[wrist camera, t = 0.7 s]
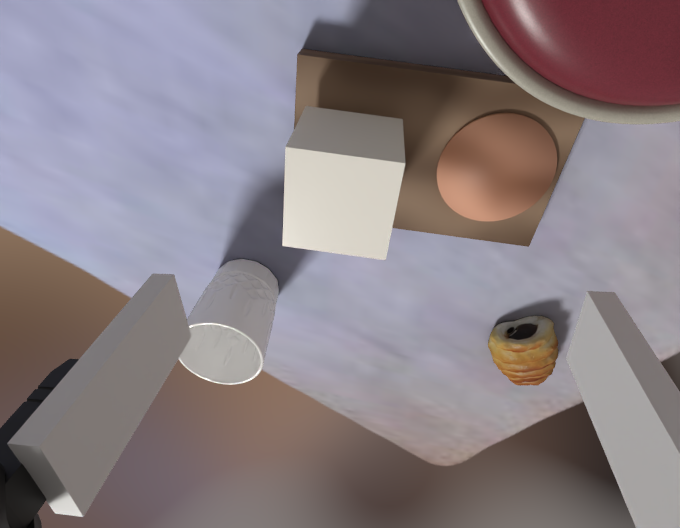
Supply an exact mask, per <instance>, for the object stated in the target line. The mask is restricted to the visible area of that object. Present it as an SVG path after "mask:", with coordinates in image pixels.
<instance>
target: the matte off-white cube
mask: <svg viewBox="0 0 680 528" xmlns="http://www.w3.org/2000/svg"><path fill="white" fill-rule="evenodd" d="M404 168H405V148H404V131H403V119H399V118H392V117H384V116H377V115H369V114H362V113H355V112H347V111H340V110H333V109H325V108H318V107H310V106H306V107H305V109H304V111H303V113H302V115H301V117H300V119H299V121H298V123H297V125H296V127H295V129H294V131H293V133H292V135H291V137H290V139H289V141H288V143H287V145H286V151H285V181H284V212H283V242H282V246H287V247H294V248H301V249H308V250H315V251H323V252H330V253H337V254H344V255H351V256H359V257H366V258H373V259H380V260H386V256H387V251H388V246H389V241H390V236H391V231H392V226H393V222H394V217H395V212H396V207H397V202H398V197H399V192H400V187H401V183H402V178H403V173H404Z"/></svg>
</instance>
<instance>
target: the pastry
mask: <svg viewBox="0 0 680 528" xmlns="http://www.w3.org/2000/svg"><path fill="white" fill-rule="evenodd" d="M553 326H554V323H553V322H552V321H551V320H550V319H548V318H545V317H544V316H528V317H525V318H521V319H519V320H516V321H513V322H504V323H500V324H498V325H497V326H496V327H495V328H494V329H493V330H492V332H491V334H490V338H489V342H488V347H489V349H490V351H491V354H492V357H493V361H494V363H495V364H496V365H497V367H498V369H499V370H501V371H502V373H503V374H504V375H506V376H507V377H508V378H509V380H510V381H512V382H513V383H514V384H516V385H539V384H540V383H542V382H544V381H545V380H546V379H547V377H548V376H549V375H551V374H552V372H553V368H554V367H555V364H556V363H555V360H556V359H557V357H558V348H557V346H558V340H557V337H556V335H555V332H554V328H553Z"/></svg>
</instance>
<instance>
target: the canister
mask: <svg viewBox="0 0 680 528" xmlns="http://www.w3.org/2000/svg"><path fill="white" fill-rule="evenodd" d="M457 1H458V4H459V6H460V8H461V11H462V13H463V15H464V17H465V19H466V21H467V23H468V25H469V27H470V29H471V30H472V32H473V34H474V36H475V37H476V39H477V40H478V42H479V43H480V45H481V46H482V48H483V49H484V50H485V52H486V53H487V54H488V56H489V57H490V58H491V59H492V60H493V62H494V63H495V64H496V65H497V66H498V67H499V68H500V69H501V70H502V71H503V72H504V73H505V74H506V75H507V76H508V77H509V78H510V79H511V80H512V81H513V82H515V83H516V84H517V85H518V86H520V87H521V88H522V89H524V90H525V91H526V92H528V93H529V94H531V95H532V96H534V97H536V98H537V99H539V100H541V101H543V102H544V103H546V104H548V105H550V106H552V107H555V108H557V109H559V110H562V111H564V112H567V113H570V114H573V115H576V116H579V117H583V118H587V119H591V120H596V121H602V122H609V123H619V124H658V123H668V122H676V121H680V0H457Z"/></svg>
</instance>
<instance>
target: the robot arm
mask: <svg viewBox="0 0 680 528" xmlns="http://www.w3.org/2000/svg"><path fill="white" fill-rule="evenodd" d="M191 337H192V336H191V333H190V329H189V325H188V322H187V318H186V315H185V311H184V308H183V304H182V301H181V297H180V294H179V290H178V287H177V283H176V280H175V276H174V274H152V275H151V276H150V277H149V279H148V280H147V281H146V282H145V283H144V284H143V286H142V287H141V288H140V289H139V290H138V291H137V293H136V294H135V295H134V296H133V297H132V298H131V300H130V301H129V302H128V303H127V305H125V307H124V308H123V309H122V310H121V311H120V313H119V314H118V315H117V316H116V317H115V318H114V320H113V321H112V322H111V323H110V324H109V325H108V327H107V328H106V329H105V330H104V331H103V332H102V333H101V335H100V336H99V337H98V338H97V339H96V340H95V342H94V343H93V344H92V345H91V346H90V347H89V349H88V350H87V351H86V352H85V353H84V354H83V356H82V357H81V358H80V359H79V360H78V359H69V360H67V361H66V362H65V363H63V364H62V365H60V366H59V367H57V368H56V369H54V370H53V371H52V372H51V373H50V374H49V375H48V376H47V377H46V378H45V379H44V380H43V382H42V383H41V384H40V385H39V386H38V389H35V390H34V391H33V393H32V394H31V395H30V396H29V397H28V398H27V402H24V403H23V404H22V405H21V406H20V407H19V408H18V409H17V411H15V413H14V414H13V415H12V416H11V417H10V418H9V419H8V420H7V422H6V423H5V424H4V425H3V426H2V427H1V428H0V528H42V526H41V520H40V518H39V515H38V514H37V512H38V511H39V509H40V508H41V507H42V505H43V504H44V502H45V501H47V502H48V504H49V505H50V507H51V508H52V510H53V511H54V512H55V514H64V515H74V516H81V517H84V515H85V513H86V512H87V510H88V508H89V507H90V505H91V503H92V502H93V500H94V498H95V497H96V495H97V493H98V492H99V490H100V488H101V487H102V485H103V483H104V482H105V480H106V478H107V477H108V475H109V473H110V472H111V470H112V468H113V467H114V465H115V463H116V462H117V460H118V458H119V457H120V455H121V453H122V452H123V450H124V448H125V447H126V445H127V443H128V442H129V440H130V438H131V437H132V435H133V433H134V432H135V430H136V428H137V427H138V425H139V423H140V422H141V420H142V418H143V417H144V415H145V413H146V412H147V410H148V408H149V407H150V405H151V403H152V402H153V400H154V398H155V397H156V395H157V393H158V392H159V390H160V388H161V387H162V385H163V383H164V382H165V380H166V378H167V377H168V375H169V373H170V372H171V370H172V368H173V367H174V365H175V363H176V362H177V360H178V358H179V357H180V355H181V353H182V352H183V350H184V348H185V347H186V345H187V343H188V342H189V340H190V338H191ZM566 359H567V362H568V364H569V367H570V369H571V371H572V374H573V376H574V379H575V381H576V384H577V386H578V388H579V391H580V393H581V396H582V398H583V401H584V403H585V405H586V408H587V410H588V413H589V415H590V417H591V420H592V422H593V425H594V427H595V429H596V432H597V434H598V437H599V439H600V442H601V444H602V446H603V449H604V451H605V454H606V456H607V458H608V461H609V463H610V466H611V468H612V471H613V473H614V476H615V478H616V480H617V483H618V485H619V487H620V490H621V492H622V495H623V497H624V500H625V502H626V505H627V507H628V509H629V512H630V514H631V517H632V519H633V521H634V524H635V526H636V528H680V392H679V390H678V389H677V387H676V386H675V384H674V383H673V381H672V380H671V378H670V376H669V375H668V373H667V372H666V370H665V369H664V367H663V366H662V364H661V363H660V361H659V360H658V358H657V357H656V355H655V353H654V352H653V350H652V349H651V347H650V346H649V344H648V343H647V341H646V340H645V338H644V337H643V335H642V334H641V332H640V330H639V329H638V327H637V326H636V324H635V323H634V321H633V320H632V318H631V317H630V315H629V314H628V312H627V311H626V309H625V308H624V306H623V304H622V303H621V301H620V300H619V298H618V297H617V295H616V294H615V292H594V291H587V294H586V297H585V300H584V303H583V306H582V310H581V313H580V316H579V319H578V322H577V326H576V329H575V332H574V335H573V338H572V341H571V345H570V348H569V351H568V354H567V357H566Z"/></svg>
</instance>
